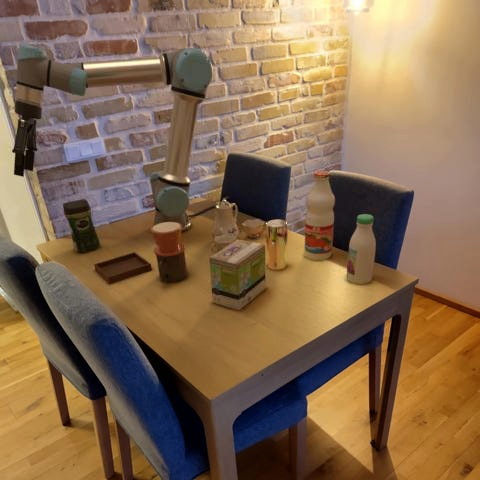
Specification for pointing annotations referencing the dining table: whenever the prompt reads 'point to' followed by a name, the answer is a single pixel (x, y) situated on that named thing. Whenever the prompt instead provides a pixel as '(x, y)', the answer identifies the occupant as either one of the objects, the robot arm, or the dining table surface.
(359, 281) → the milk bottle
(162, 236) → the filter
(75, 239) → the coffee jar
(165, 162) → the robot arm
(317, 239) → the fruit juice
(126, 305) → the dining table surface
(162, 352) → the dining table surface
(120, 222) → the dining table surface
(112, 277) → the tray
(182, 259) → the mug
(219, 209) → the chinaware
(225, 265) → the tea box
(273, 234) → the beer glass
